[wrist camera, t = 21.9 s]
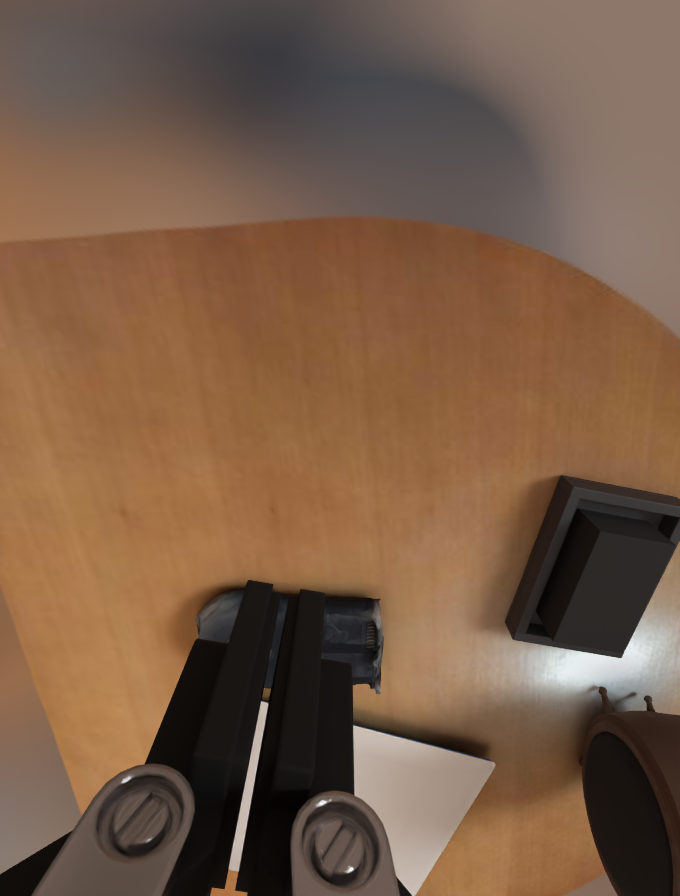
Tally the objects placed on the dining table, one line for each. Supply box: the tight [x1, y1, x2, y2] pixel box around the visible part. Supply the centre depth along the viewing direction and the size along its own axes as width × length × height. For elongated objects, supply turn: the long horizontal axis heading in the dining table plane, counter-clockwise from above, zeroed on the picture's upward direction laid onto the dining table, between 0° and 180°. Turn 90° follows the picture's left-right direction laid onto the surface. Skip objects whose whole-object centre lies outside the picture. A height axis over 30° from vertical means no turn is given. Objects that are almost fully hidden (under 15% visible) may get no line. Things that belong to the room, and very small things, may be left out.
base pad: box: [505, 476, 680, 658], centre depth 38 cm, size 14×9×2 cm
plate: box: [228, 700, 496, 896], centre depth 47 cm, size 22×22×2 cm
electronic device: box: [196, 588, 384, 694], centre depth 40 cm, size 9×6×15 cm
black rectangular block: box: [536, 508, 676, 653], centre depth 37 cm, size 10×6×4 cm, turn 169°
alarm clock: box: [579, 687, 680, 896], centre depth 35 cm, size 14×7×20 cm, turn 178°
